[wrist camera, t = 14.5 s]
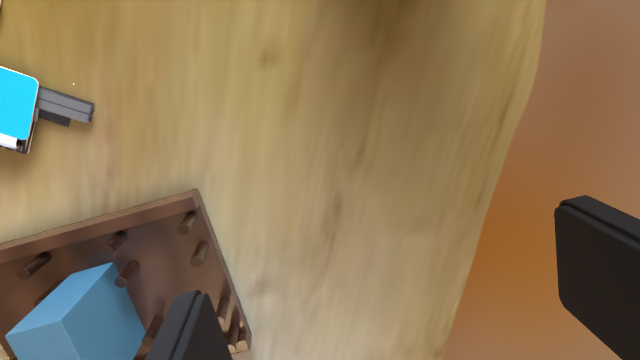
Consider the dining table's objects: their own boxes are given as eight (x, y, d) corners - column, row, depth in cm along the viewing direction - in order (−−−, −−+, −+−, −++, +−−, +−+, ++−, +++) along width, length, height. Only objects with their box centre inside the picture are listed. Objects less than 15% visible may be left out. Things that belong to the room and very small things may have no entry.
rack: (41, 393, 41) (13, 430, 36) (-37, 254, 36) (-80, 278, 32) (251, 334, 41) (247, 364, 37) (198, 188, 36) (186, 203, 32)
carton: (71, 273, 36) (3, 336, 28) (114, 261, 36) (59, 320, 28) (106, 345, 39) (54, 424, 30) (147, 334, 39) (106, 410, 30)
